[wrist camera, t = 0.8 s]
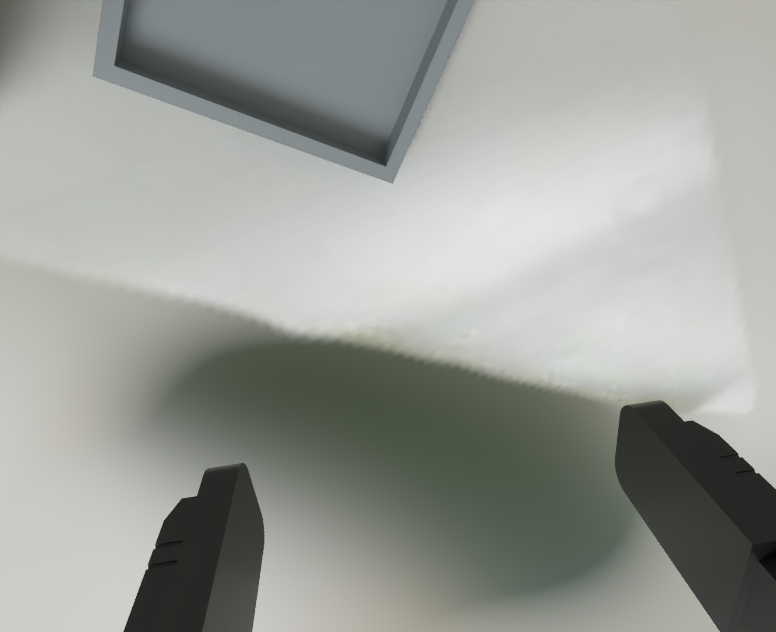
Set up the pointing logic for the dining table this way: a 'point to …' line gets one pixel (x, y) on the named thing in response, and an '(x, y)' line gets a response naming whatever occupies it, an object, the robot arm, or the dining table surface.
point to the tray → (290, 67)
